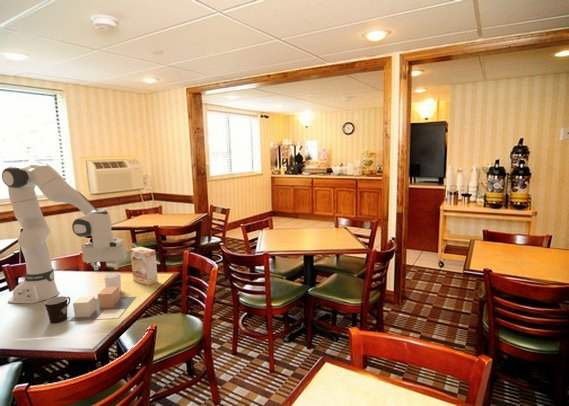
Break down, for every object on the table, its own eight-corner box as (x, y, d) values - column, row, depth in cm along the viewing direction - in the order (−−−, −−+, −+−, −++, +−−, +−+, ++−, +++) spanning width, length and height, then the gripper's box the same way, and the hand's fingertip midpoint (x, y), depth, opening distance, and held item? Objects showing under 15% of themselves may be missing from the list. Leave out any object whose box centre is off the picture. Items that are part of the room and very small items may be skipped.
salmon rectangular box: (99, 307, 169) (97, 294, 167) (106, 300, 177) (105, 287, 176) (112, 307, 169) (111, 293, 168) (120, 299, 178) (118, 286, 177)
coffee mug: (53, 327, 151) (50, 306, 150) (44, 322, 156) (41, 301, 154) (80, 316, 161) (77, 296, 160) (70, 312, 166) (68, 292, 164)
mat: (68, 322, 156) (68, 321, 156) (93, 299, 179) (93, 298, 179) (118, 319, 157) (118, 318, 157) (137, 297, 181) (137, 296, 181)
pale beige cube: (74, 317, 159) (72, 303, 158) (81, 310, 166) (80, 297, 165) (89, 316, 160) (87, 302, 159) (96, 310, 166) (94, 296, 165)
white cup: (124, 289, 191) (123, 272, 190) (116, 295, 183) (114, 278, 182) (111, 289, 192) (109, 272, 191) (102, 295, 184) (100, 277, 183)
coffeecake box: (132, 280, 205) (129, 249, 202) (143, 276, 211) (140, 246, 208) (147, 285, 196) (144, 253, 193) (158, 281, 202) (155, 249, 199)
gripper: (77, 245, 164) (81, 272, 167) (121, 243, 166) (124, 270, 168) (84, 241, 171) (87, 268, 173) (126, 239, 172) (129, 266, 174)
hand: (106, 269), depth 170 cm, fingers open, 8 cm apart
